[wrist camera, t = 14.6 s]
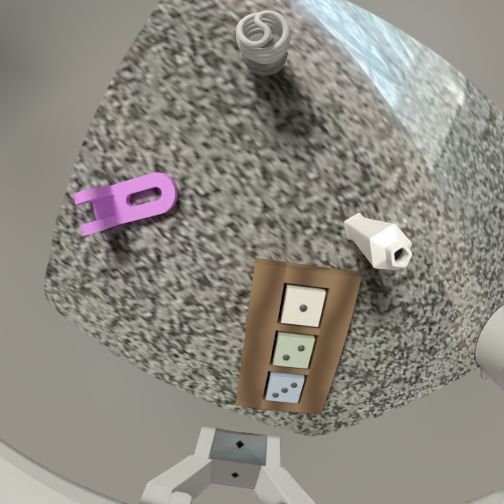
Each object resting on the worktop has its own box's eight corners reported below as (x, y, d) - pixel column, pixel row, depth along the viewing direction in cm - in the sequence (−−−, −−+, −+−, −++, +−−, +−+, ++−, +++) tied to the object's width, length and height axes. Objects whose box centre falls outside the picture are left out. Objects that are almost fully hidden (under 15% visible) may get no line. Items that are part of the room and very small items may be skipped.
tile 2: (312, 330, 42) (314, 339, 40) (305, 359, 43) (307, 369, 41) (278, 327, 42) (278, 335, 40) (273, 355, 43) (273, 365, 41)
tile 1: (322, 285, 40) (325, 292, 38) (315, 318, 42) (318, 327, 39) (286, 281, 40) (287, 288, 38) (280, 314, 42) (281, 322, 39)
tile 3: (303, 369, 44) (304, 379, 41) (296, 393, 45) (297, 403, 42) (271, 366, 44) (270, 376, 41) (266, 390, 45) (265, 400, 43)
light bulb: (284, 86, 35) (288, 51, 23) (241, 81, 35) (228, 44, 23) (289, 51, 33) (294, 6, 22) (247, 46, 34) (238, 1, 22)
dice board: (356, 271, 40) (361, 277, 38) (319, 404, 46) (320, 413, 43) (256, 257, 40) (254, 263, 38) (237, 395, 46) (235, 405, 44)
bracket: (103, 228, 41) (77, 237, 34) (95, 192, 40) (68, 195, 33) (182, 208, 40) (164, 214, 33) (173, 168, 39) (154, 167, 32)
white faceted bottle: (375, 241, 39) (425, 274, 24) (345, 247, 39) (383, 285, 25) (371, 208, 38) (421, 225, 23) (340, 214, 38) (377, 235, 24)
